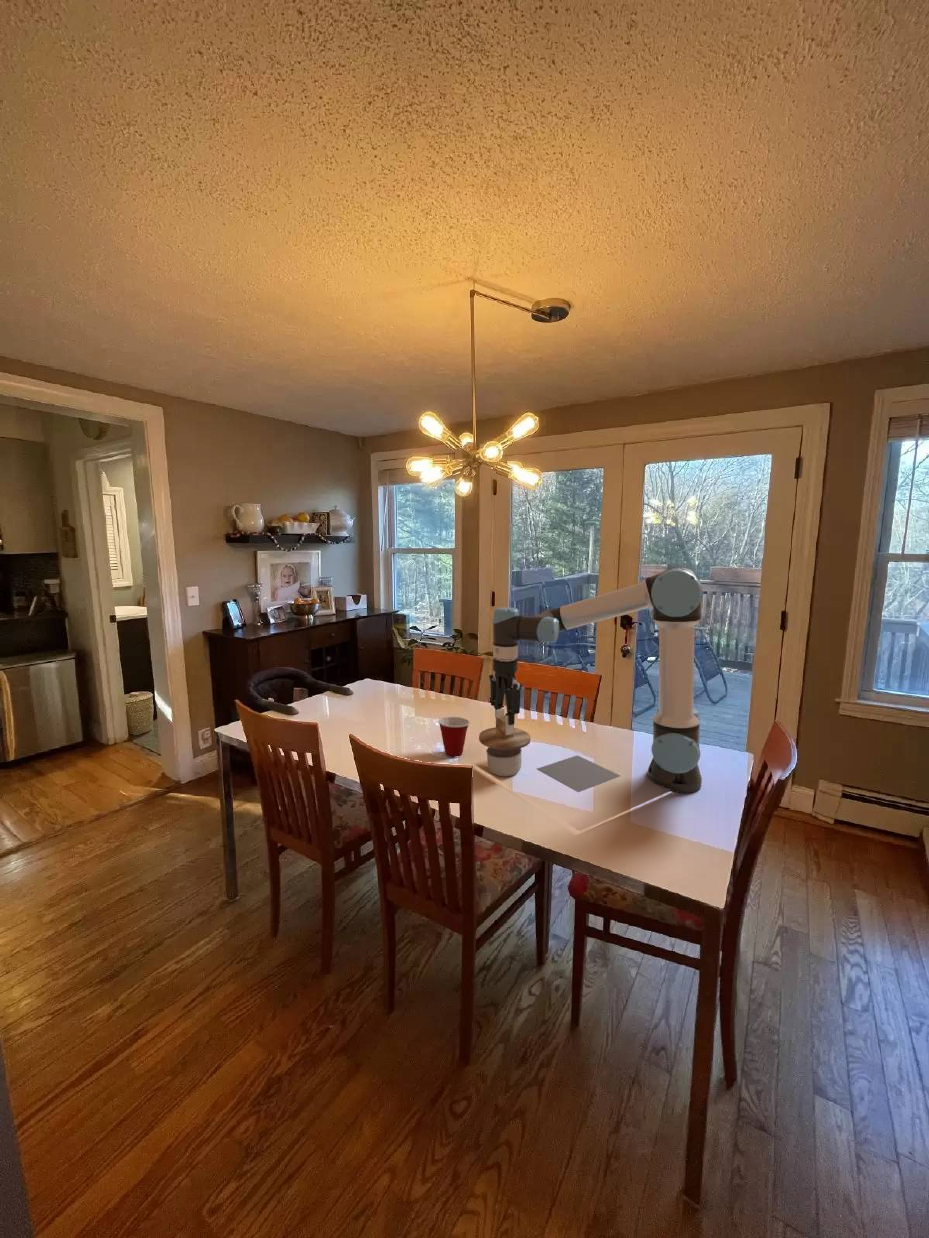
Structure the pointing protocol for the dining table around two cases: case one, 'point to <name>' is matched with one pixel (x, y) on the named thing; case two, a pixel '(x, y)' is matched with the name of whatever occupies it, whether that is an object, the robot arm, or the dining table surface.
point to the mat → (578, 773)
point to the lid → (503, 737)
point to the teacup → (504, 761)
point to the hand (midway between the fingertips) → (504, 731)
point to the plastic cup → (453, 734)
